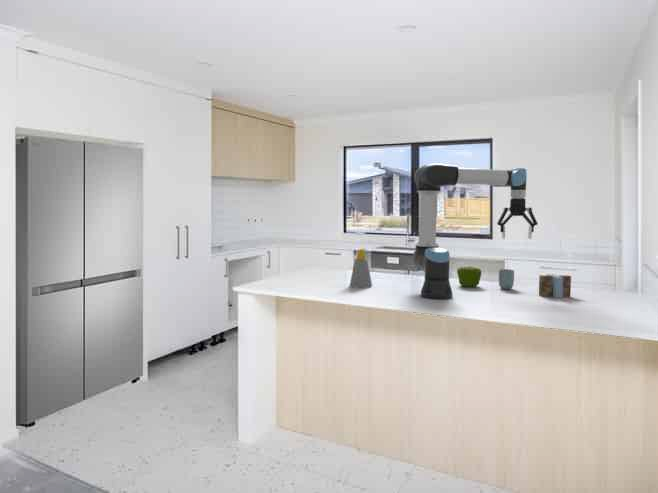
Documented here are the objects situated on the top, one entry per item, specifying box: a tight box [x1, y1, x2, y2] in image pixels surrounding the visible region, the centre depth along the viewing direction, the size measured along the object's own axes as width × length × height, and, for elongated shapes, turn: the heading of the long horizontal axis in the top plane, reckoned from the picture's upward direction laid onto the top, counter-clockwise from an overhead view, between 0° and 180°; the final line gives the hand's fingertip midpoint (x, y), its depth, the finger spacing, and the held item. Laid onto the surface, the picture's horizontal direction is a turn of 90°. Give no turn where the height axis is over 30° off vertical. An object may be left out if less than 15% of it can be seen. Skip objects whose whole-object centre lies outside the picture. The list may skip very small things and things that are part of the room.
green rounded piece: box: [456, 266, 482, 288], centre depth 274 cm, size 12×12×11 cm
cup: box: [498, 268, 515, 290], centre depth 265 cm, size 8×8×10 cm
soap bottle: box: [349, 248, 373, 289], centre depth 274 cm, size 12×12×20 cm
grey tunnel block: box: [546, 273, 563, 299], centre depth 245 cm, size 12×3×10 cm, turn 176°
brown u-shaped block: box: [538, 274, 572, 298], centre depth 245 cm, size 14×3×10 cm, turn 86°
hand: (516, 238), depth 264 cm, fingers open, 13 cm apart
